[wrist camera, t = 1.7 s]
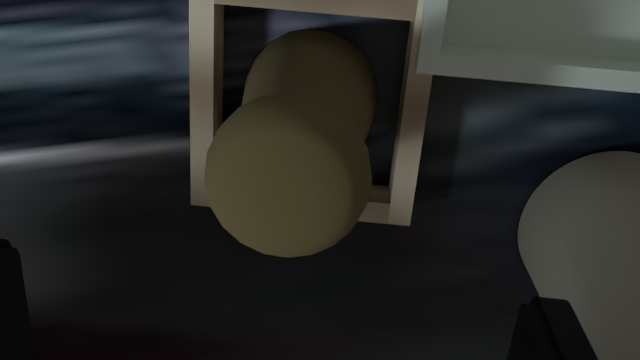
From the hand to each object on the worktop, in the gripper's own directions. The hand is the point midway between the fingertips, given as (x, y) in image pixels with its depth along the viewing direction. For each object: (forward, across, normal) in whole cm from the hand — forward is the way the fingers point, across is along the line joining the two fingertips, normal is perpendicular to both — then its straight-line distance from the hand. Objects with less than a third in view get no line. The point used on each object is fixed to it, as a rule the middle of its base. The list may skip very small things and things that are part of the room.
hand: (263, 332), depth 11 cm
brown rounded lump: (+18, +1, +1) cm, 18 cm away
